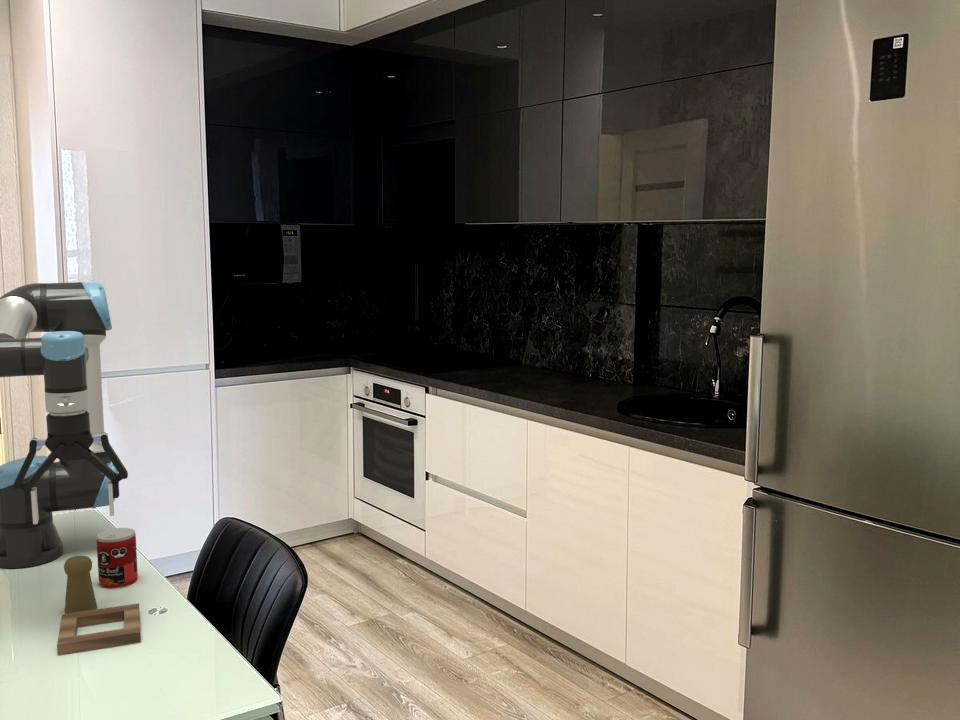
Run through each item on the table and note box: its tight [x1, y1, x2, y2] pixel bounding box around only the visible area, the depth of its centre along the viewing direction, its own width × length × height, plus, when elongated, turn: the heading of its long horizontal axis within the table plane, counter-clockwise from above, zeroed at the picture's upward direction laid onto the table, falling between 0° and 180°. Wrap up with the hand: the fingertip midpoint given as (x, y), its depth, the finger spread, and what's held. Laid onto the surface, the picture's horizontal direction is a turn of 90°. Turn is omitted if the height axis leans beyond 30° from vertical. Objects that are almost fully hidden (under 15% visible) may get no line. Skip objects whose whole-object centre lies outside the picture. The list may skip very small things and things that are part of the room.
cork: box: [63, 555, 98, 614], centre depth 178 cm, size 6×6×11 cm
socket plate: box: [56, 603, 142, 656], centre depth 168 cm, size 14×14×2 cm
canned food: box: [95, 527, 139, 589], centre depth 192 cm, size 8×8×11 cm
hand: (74, 518), depth 173 cm, fingers open, 13 cm apart
